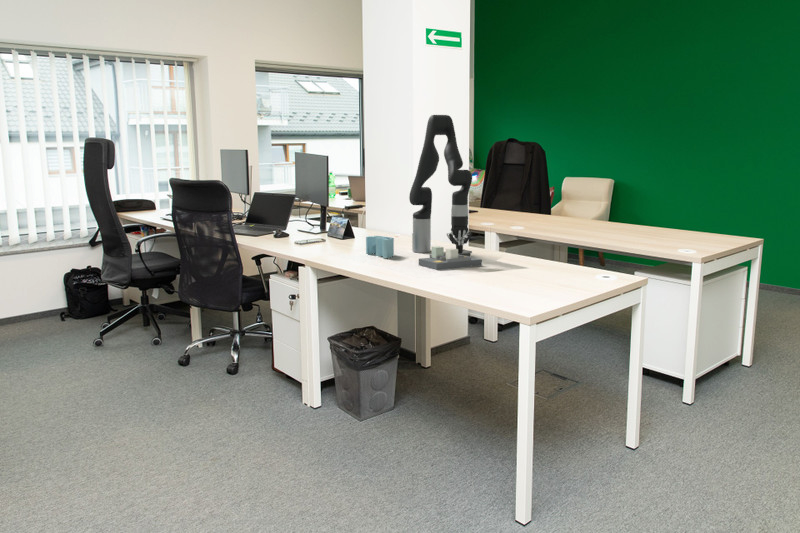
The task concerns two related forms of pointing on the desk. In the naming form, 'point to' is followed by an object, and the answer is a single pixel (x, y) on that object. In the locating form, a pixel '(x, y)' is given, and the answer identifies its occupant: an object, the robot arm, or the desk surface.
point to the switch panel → (449, 262)
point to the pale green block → (437, 251)
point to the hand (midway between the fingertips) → (459, 253)
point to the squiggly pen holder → (380, 246)
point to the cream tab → (451, 253)
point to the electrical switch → (466, 253)
